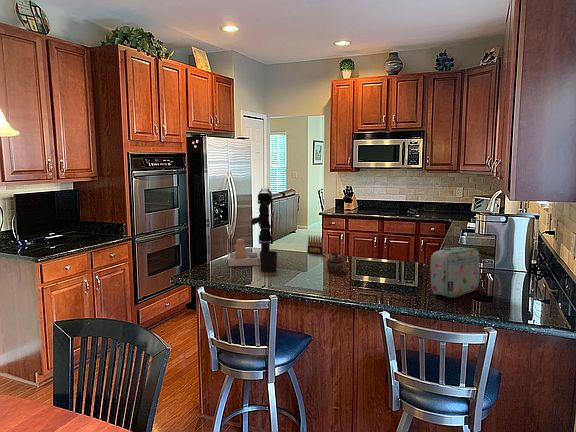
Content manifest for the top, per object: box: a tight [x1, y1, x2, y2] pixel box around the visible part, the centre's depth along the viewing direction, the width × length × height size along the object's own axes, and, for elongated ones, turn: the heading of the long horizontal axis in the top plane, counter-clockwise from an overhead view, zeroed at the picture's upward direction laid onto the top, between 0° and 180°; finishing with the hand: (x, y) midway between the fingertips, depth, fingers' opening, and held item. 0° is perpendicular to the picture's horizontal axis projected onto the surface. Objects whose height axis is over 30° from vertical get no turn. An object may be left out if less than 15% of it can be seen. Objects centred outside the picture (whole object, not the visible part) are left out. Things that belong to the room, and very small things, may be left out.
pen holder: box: [259, 250, 278, 273], centre depth 239 cm, size 9×9×10 cm
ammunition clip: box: [307, 234, 324, 255], centre depth 284 cm, size 11×2×12 cm, turn 63°
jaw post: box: [234, 238, 246, 259], centre depth 257 cm, size 4×4×13 cm
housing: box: [227, 251, 260, 267], centre depth 259 cm, size 18×18×4 cm
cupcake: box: [325, 252, 344, 273], centre depth 238 cm, size 10×10×10 cm
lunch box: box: [429, 246, 481, 299], centre depth 196 cm, size 27×10×21 cm, turn 126°
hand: (264, 238), depth 267 cm, fingers open, 9 cm apart
